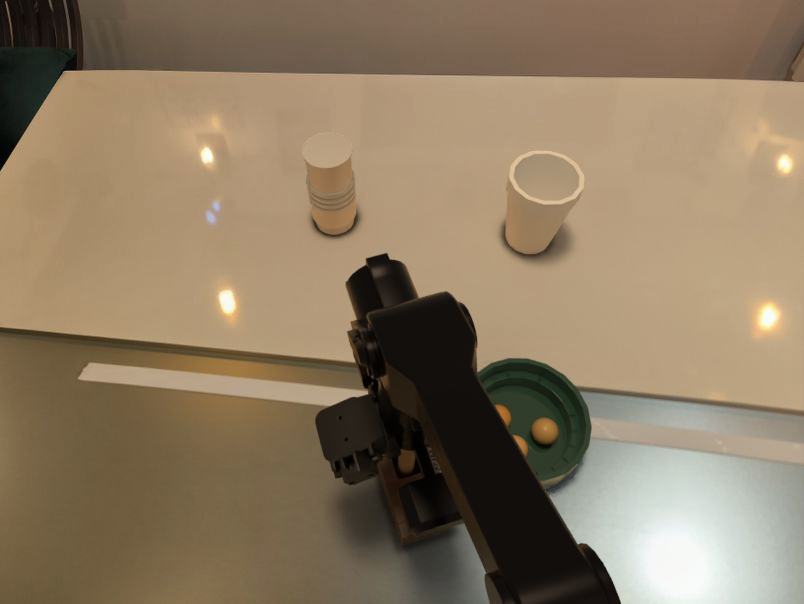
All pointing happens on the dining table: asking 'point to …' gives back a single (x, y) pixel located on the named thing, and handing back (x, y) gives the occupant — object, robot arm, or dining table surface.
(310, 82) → the dining table surface
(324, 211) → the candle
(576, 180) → the foam cup
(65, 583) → the dining table surface
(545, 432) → the bead
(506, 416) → the bead
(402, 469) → the stick
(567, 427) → the bowl
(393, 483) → the rack
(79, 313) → the dining table surface
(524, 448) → the bead
